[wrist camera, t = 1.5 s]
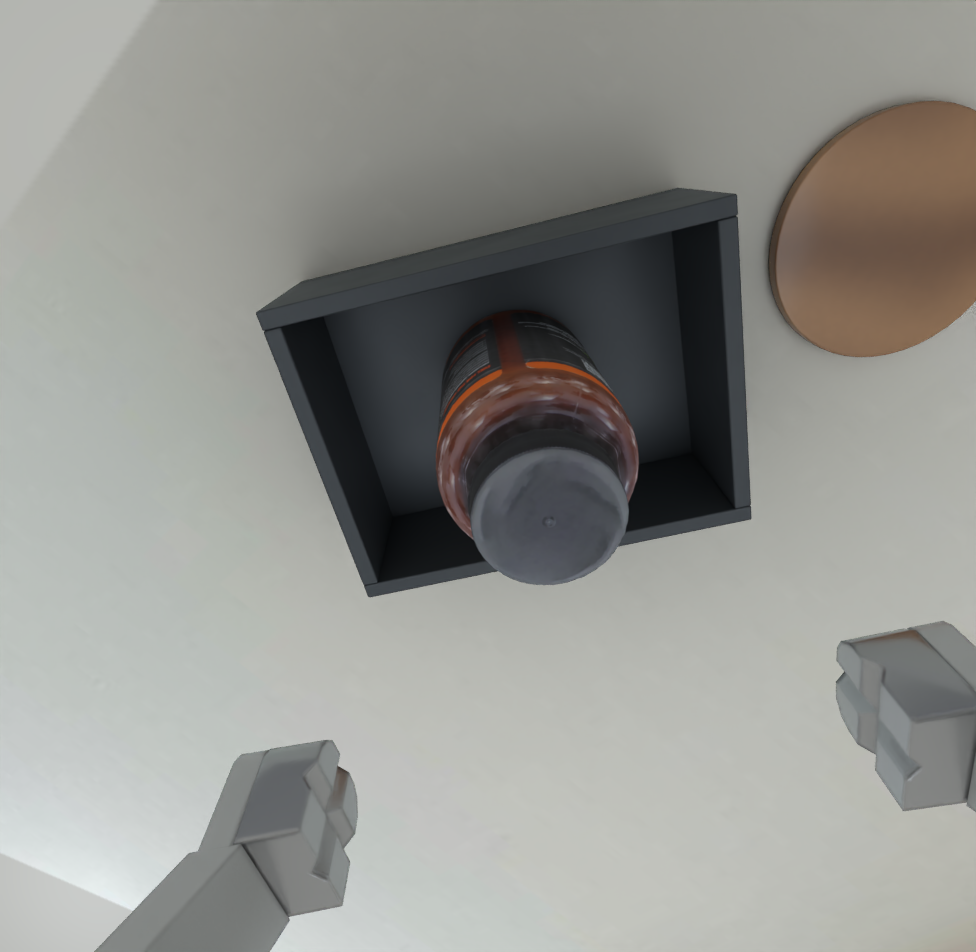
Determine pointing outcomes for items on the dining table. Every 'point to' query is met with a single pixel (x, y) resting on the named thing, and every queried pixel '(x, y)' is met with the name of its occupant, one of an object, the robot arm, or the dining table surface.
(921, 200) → the coaster
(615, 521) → the supplement bottle
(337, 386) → the bin
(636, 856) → the dining table surface
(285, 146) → the dining table surface
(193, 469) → the dining table surface
